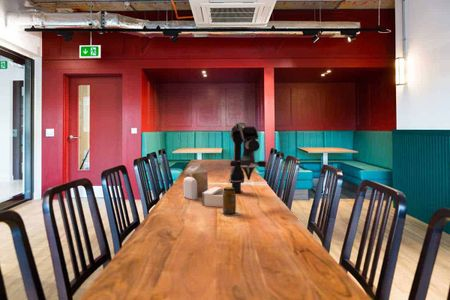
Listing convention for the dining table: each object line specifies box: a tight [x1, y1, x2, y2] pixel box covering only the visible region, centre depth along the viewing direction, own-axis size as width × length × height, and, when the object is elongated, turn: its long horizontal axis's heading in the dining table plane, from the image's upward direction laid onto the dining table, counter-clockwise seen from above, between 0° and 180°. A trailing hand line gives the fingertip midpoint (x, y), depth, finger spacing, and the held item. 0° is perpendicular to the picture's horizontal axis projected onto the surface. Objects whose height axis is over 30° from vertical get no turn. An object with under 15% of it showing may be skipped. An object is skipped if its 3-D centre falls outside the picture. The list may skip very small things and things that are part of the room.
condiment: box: [219, 186, 241, 217], centre depth 137 cm, size 7×8×12 cm
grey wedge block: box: [201, 186, 224, 208], centre depth 159 cm, size 17×11×6 cm, turn 163°
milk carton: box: [183, 162, 209, 197], centre depth 179 cm, size 11×11×19 cm
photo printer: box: [182, 177, 198, 201], centre depth 169 cm, size 10×4×12 cm, turn 39°
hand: (248, 179), depth 153 cm, fingers closed
